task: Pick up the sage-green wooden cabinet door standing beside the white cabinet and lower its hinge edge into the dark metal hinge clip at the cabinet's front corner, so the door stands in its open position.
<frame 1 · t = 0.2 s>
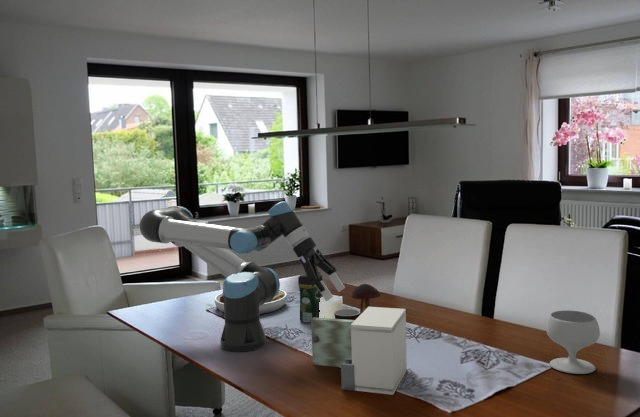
hand: (336, 294, 194), 16 cm above the table, tool tilted 35°, fingers open, 13 cm apart
chalice: (572, 367, 165), on the table
hinge clip: (351, 386, 156), on the table
coffee mug: (348, 340, 195), on the table
cabinet: (380, 379, 160), on the table
coffee jar: (311, 321, 218), on the table
decorative mushroom: (366, 324, 212), on the table
bowl: (251, 307, 241), on the table
cabinet door: (335, 365, 172), on the table
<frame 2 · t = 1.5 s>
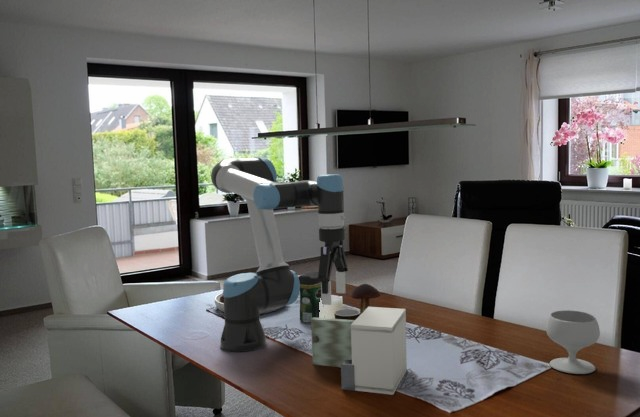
hand: (334, 298, 170), 20 cm above the table, tool pointing down, fingers open, 13 cm apart
nothing on the table moved.
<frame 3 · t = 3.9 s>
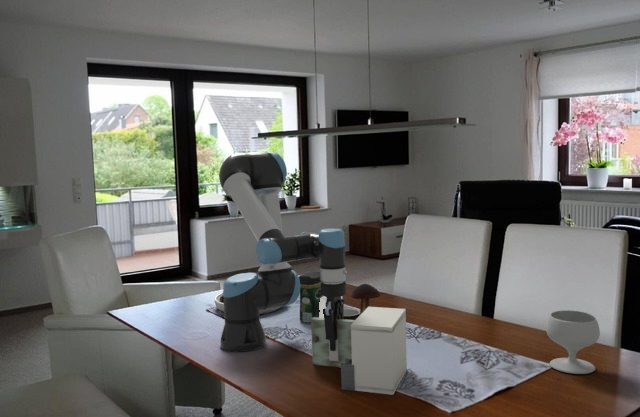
hand: (335, 358, 172), 2 cm above the table, tool pointing down, fingers closed on cabinet door, 2 cm apart
cabinet door: (335, 365, 172), on the table, touching gripper
everything else where it was.
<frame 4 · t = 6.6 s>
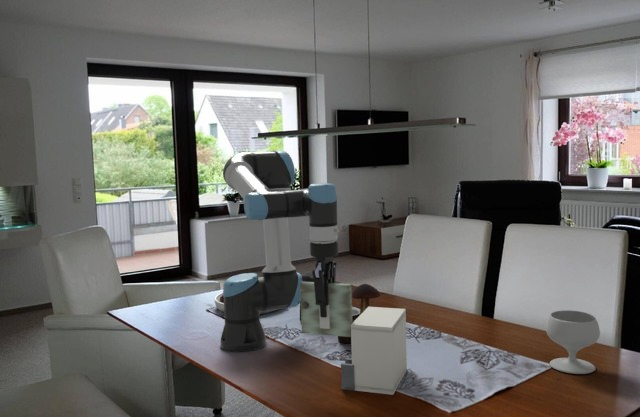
hand: (326, 326, 157), 16 cm above the table, tool pointing down, fingers closed on cabinet door, 2 cm apart
cabinet door: (327, 333, 157), point 14 cm above the table, touching gripper
everything else where it was.
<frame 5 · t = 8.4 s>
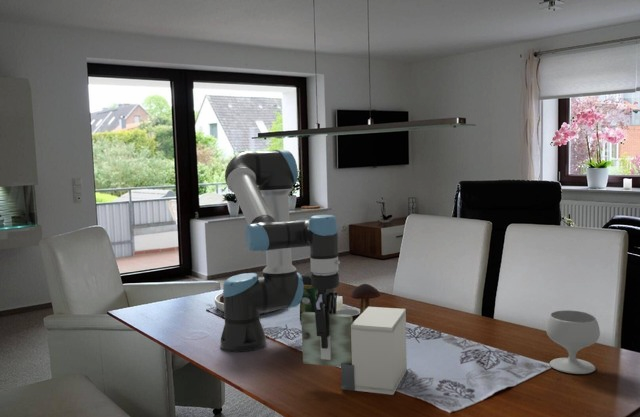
hand: (327, 357, 157), 8 cm above the table, tool pointing down, fingers closed on cabinet door, 2 cm apart
cabinet door: (328, 364, 158), point 6 cm above the table, touching gripper
everything else where it was.
when the fingers open (3 cm above the table, at t = 9.6 s): cabinet door drops 1 cm, on the table.
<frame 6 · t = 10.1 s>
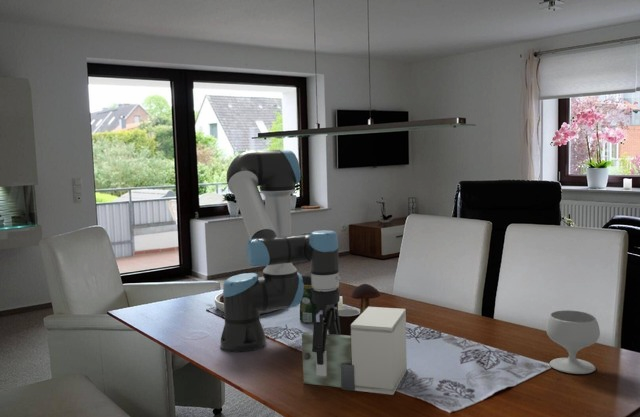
hand: (328, 368, 158), 5 cm above the table, tool pointing down, fingers open, 9 cm apart
cabinet door: (328, 384, 158), on the table
everything else where it was.
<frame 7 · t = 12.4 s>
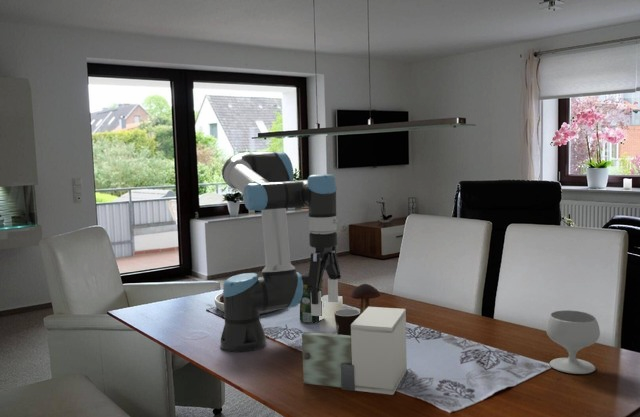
hand: (325, 308, 158), 21 cm above the table, tool pointing down, fingers open, 13 cm apart
nothing on the table moved.
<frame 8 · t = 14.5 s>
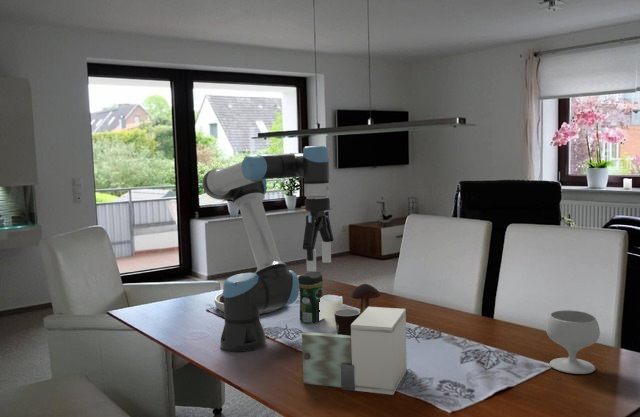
hand: (319, 266, 176), 29 cm above the table, tool pointing down, fingers open, 13 cm apart
nothing on the table moved.
at the end: cabinet door 0.5 cm from the target spot on the table beside the cabinet, on the table; cabinet door tilted 0°; the gripper is holding nothing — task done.
